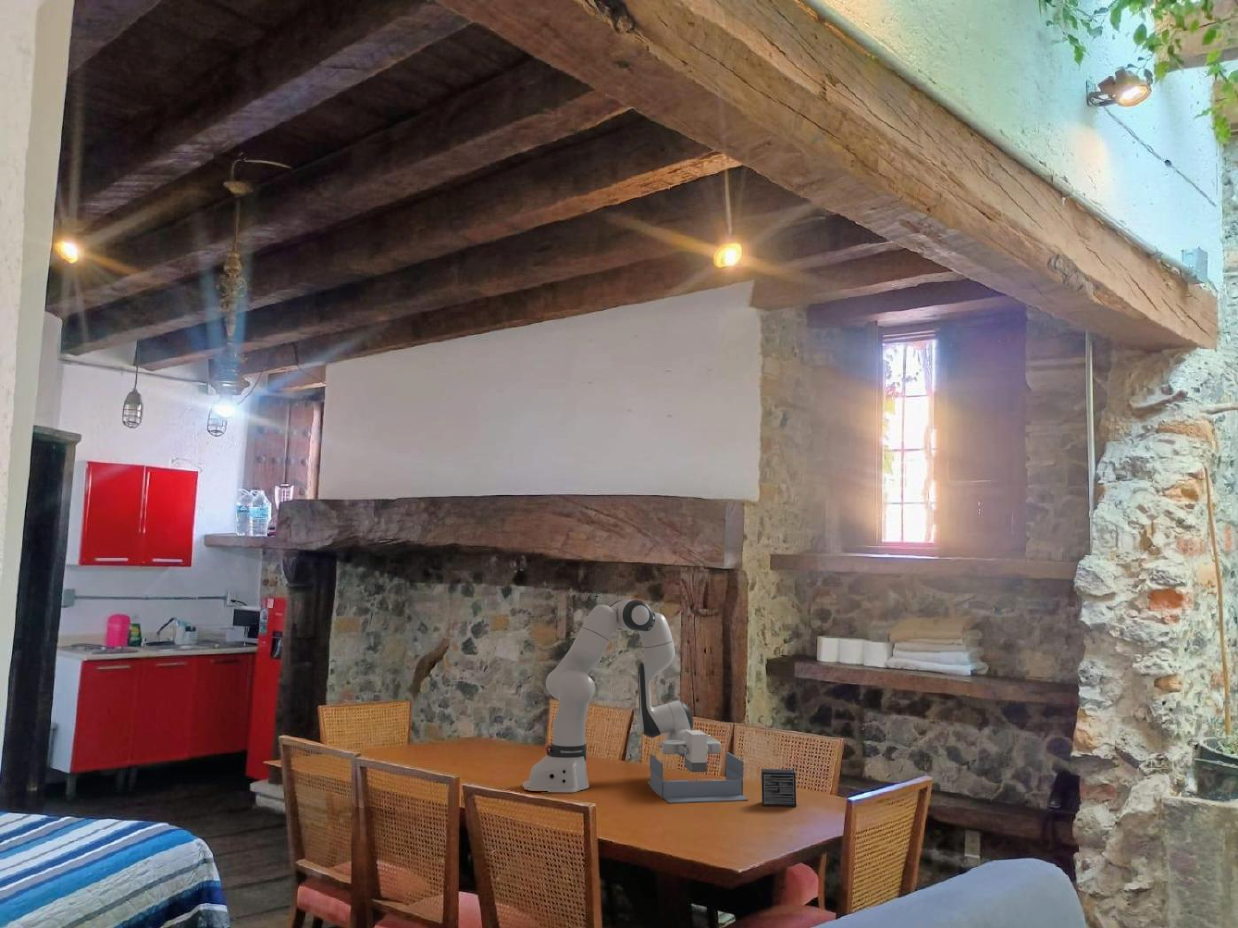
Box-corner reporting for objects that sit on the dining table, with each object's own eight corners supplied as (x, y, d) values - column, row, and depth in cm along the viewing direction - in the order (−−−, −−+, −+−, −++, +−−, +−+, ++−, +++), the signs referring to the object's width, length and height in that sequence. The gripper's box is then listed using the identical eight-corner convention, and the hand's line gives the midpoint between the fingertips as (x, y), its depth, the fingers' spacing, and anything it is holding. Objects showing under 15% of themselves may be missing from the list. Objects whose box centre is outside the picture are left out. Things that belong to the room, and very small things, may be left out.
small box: (795, 802, 306) (794, 768, 307) (796, 807, 299) (796, 772, 300) (761, 801, 307) (761, 767, 308) (762, 806, 300) (762, 771, 301)
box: (691, 772, 315) (692, 734, 317) (684, 766, 324) (685, 730, 326) (706, 771, 316) (707, 734, 318) (699, 766, 325) (699, 730, 327)
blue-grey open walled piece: (666, 803, 303) (666, 767, 304) (644, 782, 334) (644, 749, 335) (750, 800, 308) (750, 764, 309) (721, 779, 339) (721, 747, 340)
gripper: (656, 734, 332) (666, 741, 319) (714, 734, 336) (725, 740, 322) (656, 753, 331) (666, 761, 318) (713, 753, 335) (725, 760, 322)
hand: (696, 750), depth 320 cm, fingers closed on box, 5 cm apart
